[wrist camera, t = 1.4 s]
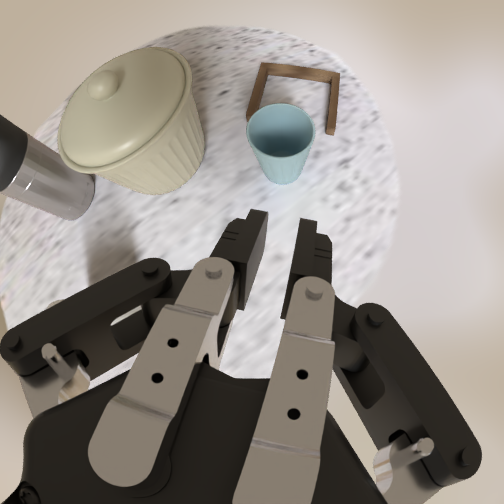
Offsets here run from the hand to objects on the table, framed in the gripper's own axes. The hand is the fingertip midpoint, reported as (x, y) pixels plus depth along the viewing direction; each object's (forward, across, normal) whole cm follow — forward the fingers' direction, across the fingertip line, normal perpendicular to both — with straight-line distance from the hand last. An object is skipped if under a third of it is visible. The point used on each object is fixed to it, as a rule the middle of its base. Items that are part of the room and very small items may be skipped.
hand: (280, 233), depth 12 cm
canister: (+28, +21, +9) cm, 36 cm away
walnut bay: (+38, +3, -1) cm, 38 cm away
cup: (+29, +3, +8) cm, 30 cm away
